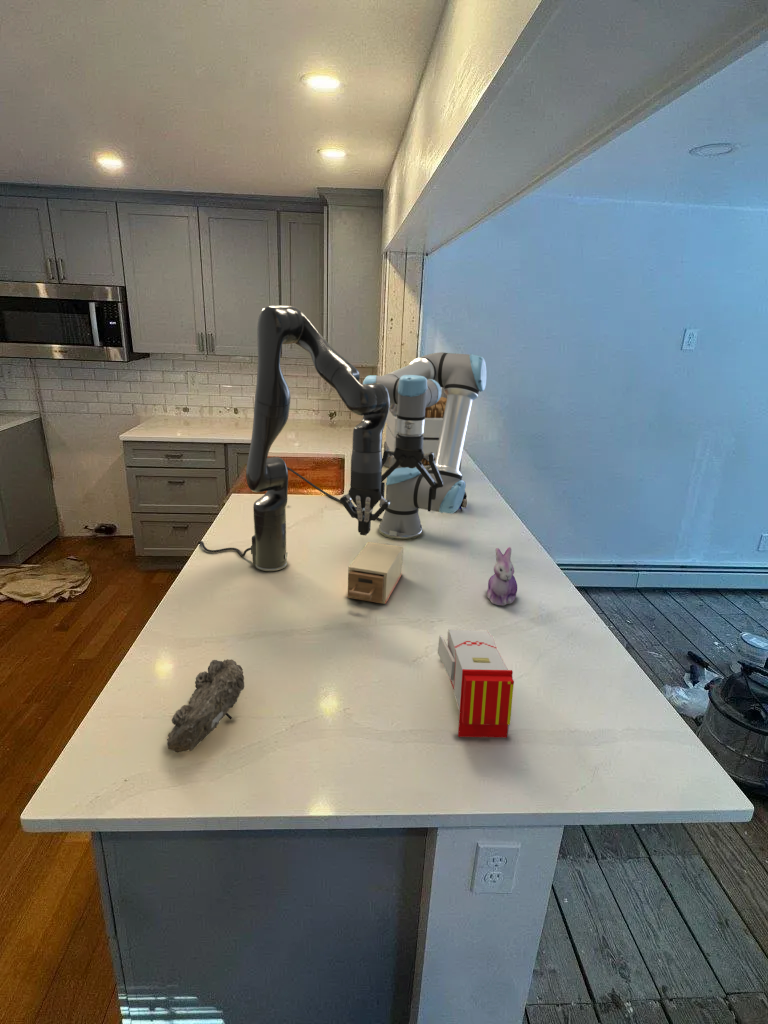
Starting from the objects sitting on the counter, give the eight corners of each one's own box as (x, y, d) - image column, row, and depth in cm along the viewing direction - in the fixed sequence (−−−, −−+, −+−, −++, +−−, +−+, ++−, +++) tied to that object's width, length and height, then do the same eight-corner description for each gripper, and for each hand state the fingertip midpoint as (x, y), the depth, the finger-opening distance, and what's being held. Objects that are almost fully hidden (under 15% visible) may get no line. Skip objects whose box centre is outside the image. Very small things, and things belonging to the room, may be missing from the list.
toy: (488, 613, 130) (523, 677, 101) (484, 667, 133) (517, 744, 104) (435, 612, 130) (455, 676, 101) (432, 666, 133) (451, 743, 103)
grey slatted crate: (382, 463, 289) (386, 382, 275) (445, 464, 293) (451, 384, 279) (390, 482, 257) (394, 392, 243) (460, 483, 261) (468, 394, 247)
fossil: (192, 660, 117) (244, 628, 112) (224, 691, 120) (276, 661, 115) (142, 746, 98) (202, 712, 93) (182, 779, 101) (242, 748, 96)
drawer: (376, 613, 146) (377, 587, 143) (341, 607, 148) (341, 581, 145) (397, 576, 166) (398, 553, 164) (366, 571, 169) (367, 548, 166)
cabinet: (385, 604, 152) (387, 573, 149) (347, 597, 155) (348, 566, 152) (401, 575, 169) (403, 546, 166) (367, 569, 172) (368, 541, 168)
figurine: (499, 610, 151) (506, 558, 146) (476, 593, 160) (482, 544, 155) (527, 603, 156) (534, 553, 151) (503, 587, 164) (509, 539, 159)
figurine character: (467, 516, 223) (461, 500, 237) (469, 499, 220) (463, 483, 233) (450, 516, 223) (446, 499, 236) (452, 498, 220) (447, 483, 233)
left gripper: (335, 468, 135) (334, 535, 141) (388, 474, 132) (385, 543, 138) (345, 461, 142) (344, 525, 148) (396, 466, 139) (393, 532, 145)
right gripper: (362, 433, 152) (359, 507, 159) (455, 440, 149) (448, 516, 156) (367, 428, 159) (364, 499, 166) (456, 434, 156) (449, 507, 163)
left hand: (364, 534), depth 143 cm, fingers closed
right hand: (405, 507), depth 161 cm, fingers open, 13 cm apart
